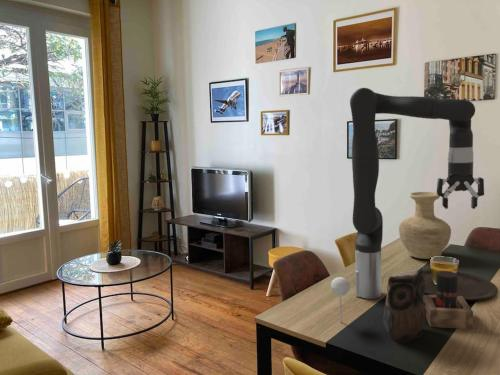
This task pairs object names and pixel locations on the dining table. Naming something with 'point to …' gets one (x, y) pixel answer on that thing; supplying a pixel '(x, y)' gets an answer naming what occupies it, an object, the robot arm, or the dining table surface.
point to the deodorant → (446, 289)
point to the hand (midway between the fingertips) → (459, 208)
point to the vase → (424, 228)
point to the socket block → (448, 314)
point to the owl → (405, 305)
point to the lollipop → (340, 288)
